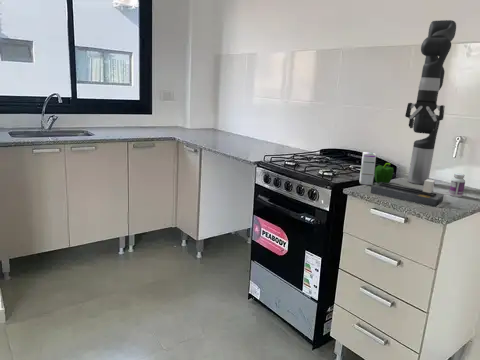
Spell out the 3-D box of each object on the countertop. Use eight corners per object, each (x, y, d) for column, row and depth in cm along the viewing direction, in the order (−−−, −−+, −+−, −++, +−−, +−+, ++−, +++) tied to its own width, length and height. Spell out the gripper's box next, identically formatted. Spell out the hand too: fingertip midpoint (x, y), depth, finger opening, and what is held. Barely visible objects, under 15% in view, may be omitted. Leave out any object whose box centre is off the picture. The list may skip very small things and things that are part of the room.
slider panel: (380, 187, 177) (381, 180, 176) (442, 201, 162) (444, 192, 161) (370, 192, 168) (371, 184, 167) (435, 207, 152) (437, 198, 152)
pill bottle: (460, 194, 174) (465, 173, 171) (463, 197, 169) (467, 176, 166) (447, 193, 175) (451, 172, 173) (449, 196, 170) (453, 174, 168)
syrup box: (372, 185, 181) (377, 154, 177) (359, 184, 182) (363, 153, 178) (371, 182, 186) (375, 152, 183) (358, 181, 187) (362, 151, 184)
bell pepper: (369, 181, 189) (372, 160, 187) (382, 180, 193) (385, 160, 190) (381, 185, 182) (385, 164, 179) (395, 184, 185) (398, 163, 183)
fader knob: (424, 191, 162) (427, 179, 160) (432, 193, 160) (434, 180, 158) (422, 193, 159) (424, 180, 157) (430, 195, 157) (432, 182, 155)
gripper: (449, 90, 158) (442, 130, 162) (413, 88, 166) (406, 126, 170) (445, 90, 152) (438, 132, 156) (407, 88, 161) (401, 127, 165)
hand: (421, 129), depth 163 cm, fingers open, 8 cm apart
